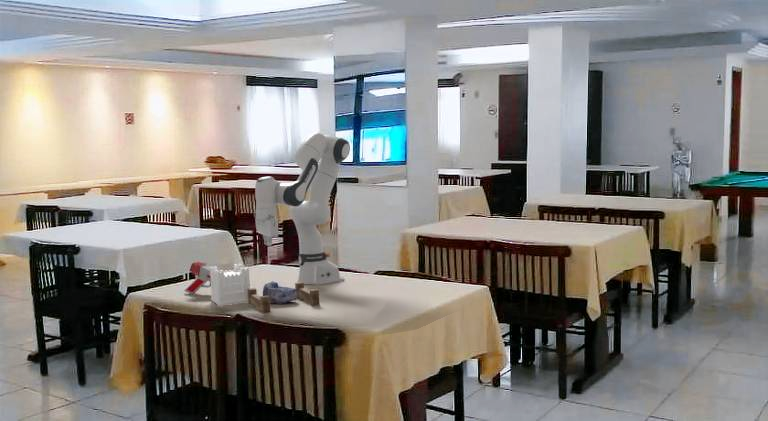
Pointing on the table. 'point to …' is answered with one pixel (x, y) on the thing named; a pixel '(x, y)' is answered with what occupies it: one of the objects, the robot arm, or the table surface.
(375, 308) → the table surface
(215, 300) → the castle model
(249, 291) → the wooden brackets
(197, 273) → the toy gun
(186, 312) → the table surface
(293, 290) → the mineral
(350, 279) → the table surface
